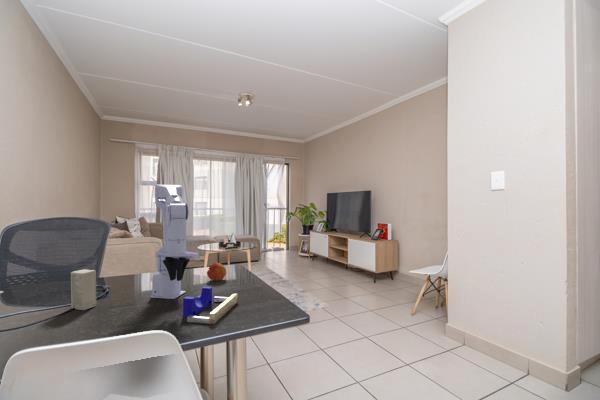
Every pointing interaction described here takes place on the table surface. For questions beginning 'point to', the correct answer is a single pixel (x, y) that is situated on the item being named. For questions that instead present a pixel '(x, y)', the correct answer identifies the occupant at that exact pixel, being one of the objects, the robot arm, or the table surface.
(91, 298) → the skincare box
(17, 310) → the table surface
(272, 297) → the table surface
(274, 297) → the table surface
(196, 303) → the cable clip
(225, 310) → the frame
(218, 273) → the fruit
